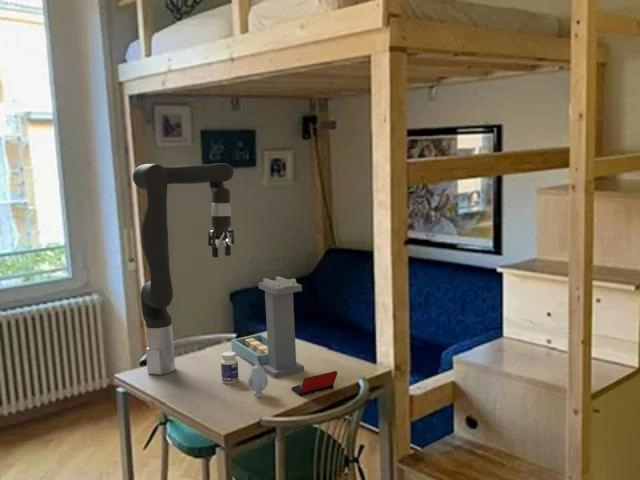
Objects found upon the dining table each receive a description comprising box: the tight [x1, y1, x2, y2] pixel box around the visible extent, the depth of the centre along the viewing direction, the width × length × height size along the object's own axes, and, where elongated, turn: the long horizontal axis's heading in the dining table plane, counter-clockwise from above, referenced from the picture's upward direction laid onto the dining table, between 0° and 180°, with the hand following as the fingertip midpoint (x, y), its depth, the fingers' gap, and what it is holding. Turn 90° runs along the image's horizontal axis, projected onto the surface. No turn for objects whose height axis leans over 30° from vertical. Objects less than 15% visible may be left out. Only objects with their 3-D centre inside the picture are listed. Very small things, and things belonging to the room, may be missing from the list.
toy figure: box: [247, 359, 269, 398], centre depth 206 cm, size 11×6×12 cm, turn 26°
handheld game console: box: [291, 370, 338, 397], centre depth 209 cm, size 12×11×7 cm
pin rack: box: [257, 276, 305, 379], centre depth 225 cm, size 14×12×34 cm
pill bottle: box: [220, 351, 239, 385], centre depth 220 cm, size 6×6×10 cm
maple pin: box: [245, 338, 268, 355], centre depth 246 cm, size 20×3×3 cm, turn 30°
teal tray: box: [230, 333, 269, 367], centre depth 245 cm, size 25×13×5 cm, turn 30°
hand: (221, 256), depth 249 cm, fingers open, 8 cm apart
